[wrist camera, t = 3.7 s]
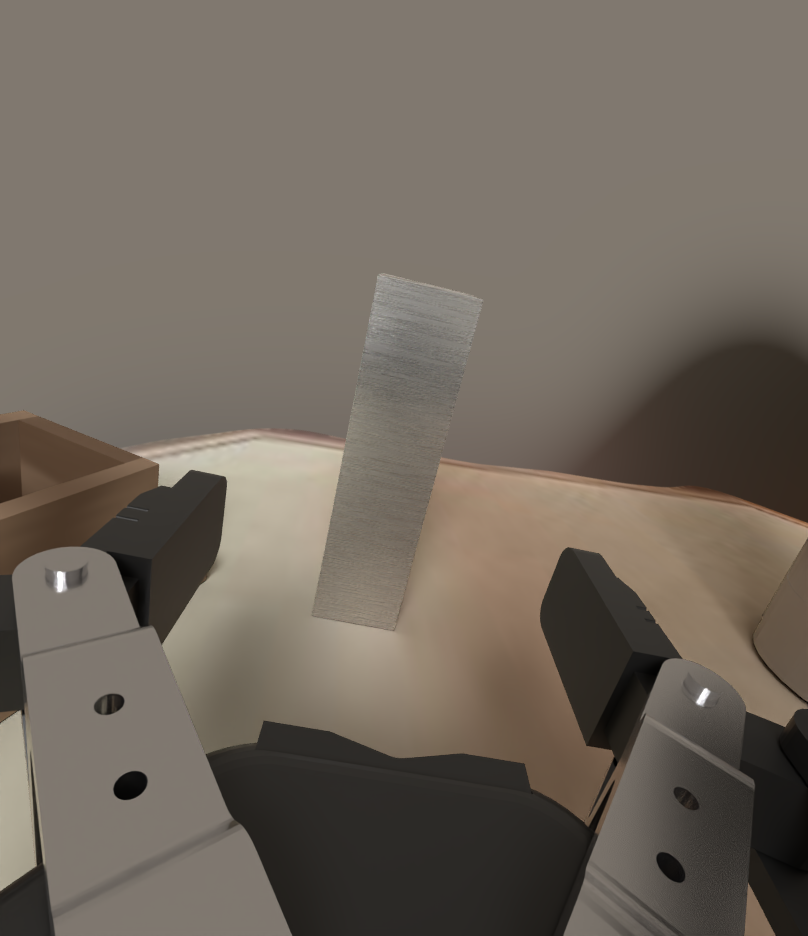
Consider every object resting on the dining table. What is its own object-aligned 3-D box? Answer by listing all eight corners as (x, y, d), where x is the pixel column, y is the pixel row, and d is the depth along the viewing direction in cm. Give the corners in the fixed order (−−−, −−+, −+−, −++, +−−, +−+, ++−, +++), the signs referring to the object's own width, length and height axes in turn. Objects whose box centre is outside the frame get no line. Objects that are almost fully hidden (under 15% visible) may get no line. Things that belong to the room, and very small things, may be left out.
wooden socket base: (36, 503, 25) (32, 394, 23) (206, 579, 22) (217, 466, 20) (-280, 611, 16) (-332, 448, 14) (-54, 759, 13) (-78, 587, 11)
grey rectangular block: (324, 569, 25) (382, 273, 20) (395, 582, 26) (470, 294, 21) (311, 615, 22) (378, 274, 17) (394, 630, 22) (483, 300, 17)
